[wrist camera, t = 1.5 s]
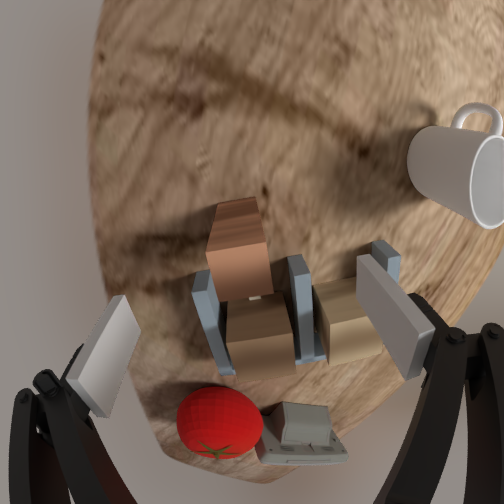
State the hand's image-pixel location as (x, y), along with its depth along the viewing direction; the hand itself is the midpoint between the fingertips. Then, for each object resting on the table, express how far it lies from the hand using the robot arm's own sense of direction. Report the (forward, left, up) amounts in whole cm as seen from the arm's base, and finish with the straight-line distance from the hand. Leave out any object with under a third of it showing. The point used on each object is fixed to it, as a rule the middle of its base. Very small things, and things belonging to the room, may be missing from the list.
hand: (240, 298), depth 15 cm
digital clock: (+36, +3, -13) cm, 38 cm away
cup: (-5, +23, -13) cm, 27 cm away
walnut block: (+6, 0, -13) cm, 15 cm away
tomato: (+27, -8, -13) cm, 31 cm away
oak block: (+12, +10, -13) cm, 20 cm away
